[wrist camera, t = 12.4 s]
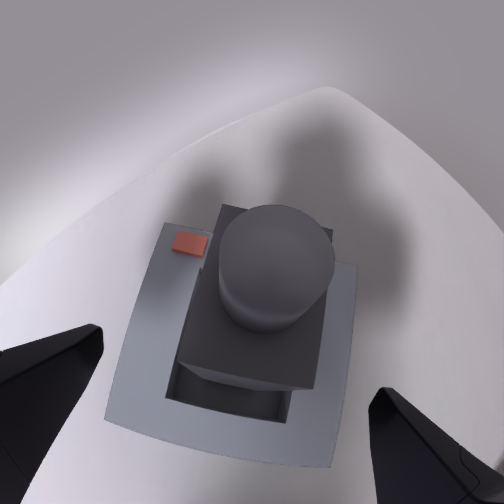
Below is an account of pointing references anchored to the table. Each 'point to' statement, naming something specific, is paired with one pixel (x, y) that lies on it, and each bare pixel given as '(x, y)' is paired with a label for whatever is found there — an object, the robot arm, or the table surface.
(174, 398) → the socket box
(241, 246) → the plug
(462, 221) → the table surface
